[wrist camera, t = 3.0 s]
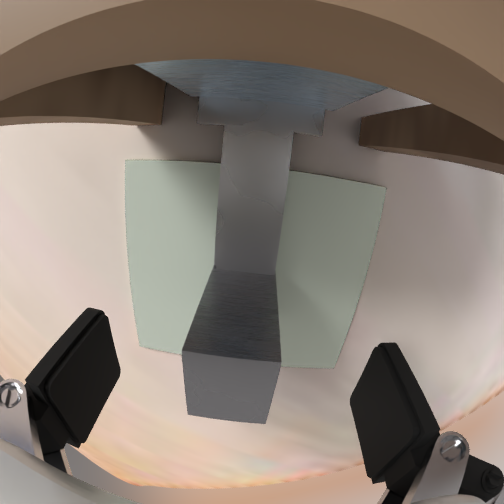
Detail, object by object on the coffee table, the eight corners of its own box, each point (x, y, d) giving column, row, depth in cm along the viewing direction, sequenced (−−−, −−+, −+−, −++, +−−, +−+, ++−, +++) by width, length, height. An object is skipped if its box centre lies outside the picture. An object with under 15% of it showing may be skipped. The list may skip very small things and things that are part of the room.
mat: (127, 159, 10) (125, 160, 10) (384, 187, 10) (386, 188, 10) (141, 344, 14) (139, 346, 14) (333, 366, 14) (333, 368, 14)
